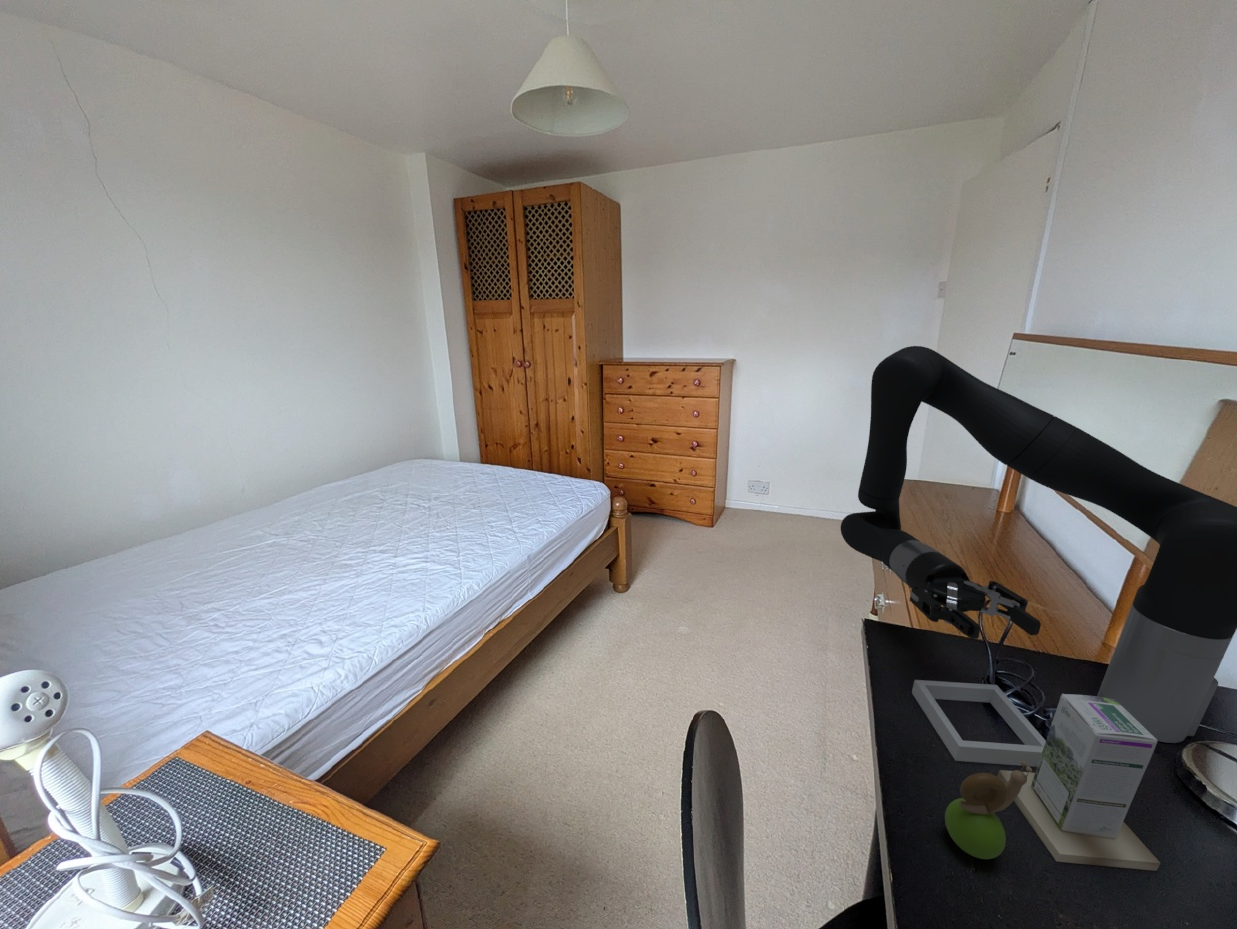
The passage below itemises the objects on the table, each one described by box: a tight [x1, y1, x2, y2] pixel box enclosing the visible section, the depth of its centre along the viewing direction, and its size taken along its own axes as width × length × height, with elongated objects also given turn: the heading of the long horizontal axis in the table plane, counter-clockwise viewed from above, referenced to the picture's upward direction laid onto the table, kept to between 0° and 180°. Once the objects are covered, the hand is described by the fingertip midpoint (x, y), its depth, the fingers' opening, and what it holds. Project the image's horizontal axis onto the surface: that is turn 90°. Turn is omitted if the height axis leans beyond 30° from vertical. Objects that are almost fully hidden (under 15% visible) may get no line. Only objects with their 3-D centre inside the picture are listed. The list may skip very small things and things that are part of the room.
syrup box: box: [1031, 693, 1159, 839], centre depth 54 cm, size 6×6×14 cm
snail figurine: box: [944, 761, 1033, 860], centre depth 52 cm, size 5×6×12 cm
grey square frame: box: [911, 679, 1047, 768], centre depth 69 cm, size 12×12×2 cm
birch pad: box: [996, 769, 1161, 872], centre depth 57 cm, size 10×10×1 cm
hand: (1007, 631), depth 65 cm, fingers open, 8 cm apart
